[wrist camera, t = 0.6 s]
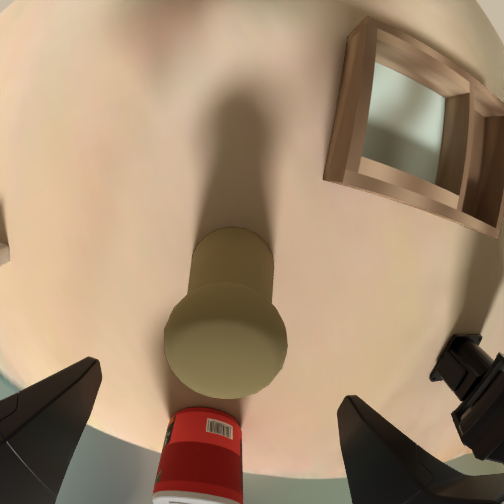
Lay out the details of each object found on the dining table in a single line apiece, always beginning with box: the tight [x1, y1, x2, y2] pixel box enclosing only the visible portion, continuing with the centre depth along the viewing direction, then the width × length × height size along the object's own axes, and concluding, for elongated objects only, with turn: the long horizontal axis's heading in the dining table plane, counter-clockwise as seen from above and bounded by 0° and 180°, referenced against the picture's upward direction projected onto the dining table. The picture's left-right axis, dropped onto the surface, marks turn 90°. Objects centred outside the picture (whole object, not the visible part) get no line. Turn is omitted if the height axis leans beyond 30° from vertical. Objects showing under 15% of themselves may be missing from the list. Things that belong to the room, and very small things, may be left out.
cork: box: [164, 227, 288, 399], centre depth 15 cm, size 6×6×11 cm
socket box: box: [323, 16, 504, 239], centre depth 15 cm, size 16×12×4 cm
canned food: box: [153, 407, 243, 504], centre depth 20 cm, size 8×8×11 cm
